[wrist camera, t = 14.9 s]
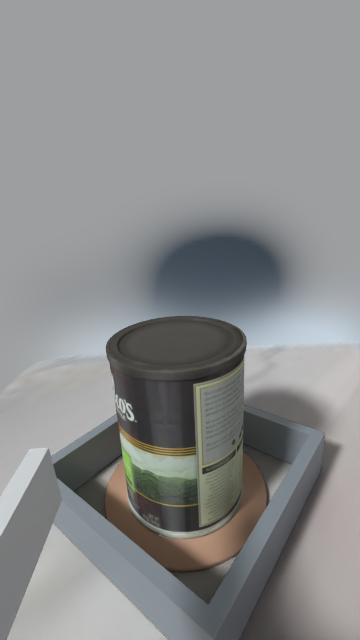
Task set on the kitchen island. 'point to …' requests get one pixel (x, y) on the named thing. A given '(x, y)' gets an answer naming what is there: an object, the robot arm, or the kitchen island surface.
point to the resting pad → (193, 550)
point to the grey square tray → (153, 579)
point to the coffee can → (180, 421)
